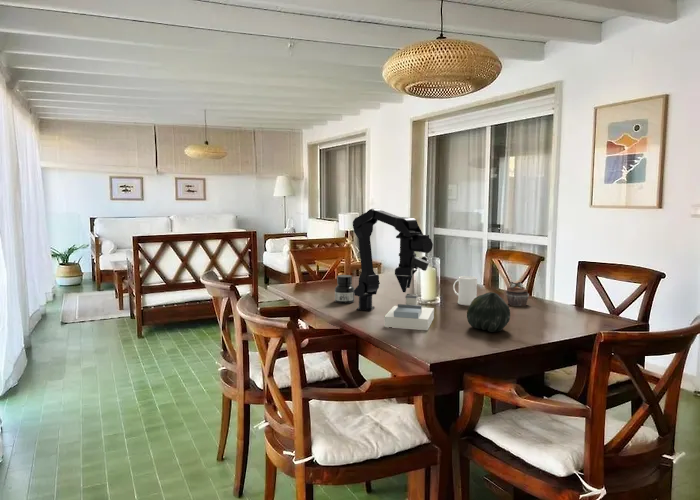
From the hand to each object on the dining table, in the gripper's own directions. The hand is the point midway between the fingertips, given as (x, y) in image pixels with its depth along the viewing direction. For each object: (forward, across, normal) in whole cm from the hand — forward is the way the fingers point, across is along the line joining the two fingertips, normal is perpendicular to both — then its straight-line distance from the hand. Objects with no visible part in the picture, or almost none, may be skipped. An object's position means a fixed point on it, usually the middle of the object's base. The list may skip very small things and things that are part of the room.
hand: (406, 290), depth 195 cm
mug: (+12, +37, -21) cm, 44 cm away
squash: (+11, -7, -32) cm, 34 cm away
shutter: (+7, -10, -2) cm, 13 cm away
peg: (+12, -1, -2) cm, 12 cm away
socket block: (+12, -5, -2) cm, 13 cm away
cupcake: (+12, +41, -44) cm, 61 cm away
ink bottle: (+12, +24, +32) cm, 42 cm away
